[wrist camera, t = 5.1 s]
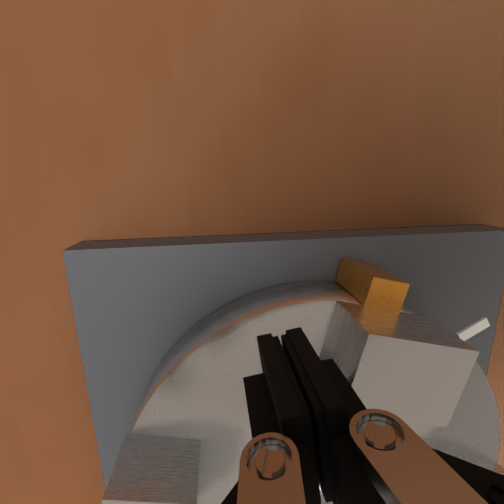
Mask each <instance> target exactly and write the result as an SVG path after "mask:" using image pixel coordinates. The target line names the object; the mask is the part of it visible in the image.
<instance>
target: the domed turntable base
mask: <svg viewBox="0 0 504 504" xmlns="http://www.w3.org/2000/svg"><path fill="white" fill-rule="evenodd" d="M409 286H410V284H409V283H407V282H405V281H404V280H402V279H400V278H398V277H396V276H394V275H393V274H391V273H389V272H387V271H385V270H384V269H382V268H380V267H378V266H376V265H374V264H373V263H369V262H364V261H359V260H354V259H349V258H344V257H342V260H341V263H340V266H339V270H338V273H337V276H336V281H328V280H323V281H299V282H292V283H285V284H279V285H275V286H272V287H268V288H264V289H260V290H257V291H254V292H252V293H249V294H247V295H244V296H242V297H239V298H237V299H234V300H233V301H231V302H229V303H227V304H225V305H224V306H222V307H220V308H218V309H216V310H215V311H213V312H211V313H210V314H209V315H207V316H206V317H205V318H203V319H202V320H200V321H199V322H198V323H196V324H195V325H194V326H193V327H191V328H190V329H189V330H188V331H187V332H186V333H185V334H184V335H183V336H182V337H181V338H180V339H179V340H178V341H177V342H176V343H175V344H174V345H173V347H172V348H171V349H170V350H169V352H168V353H167V354H166V355H165V356H164V358H163V359H162V360H161V362H160V364H159V365H158V367H157V369H156V370H155V372H154V374H153V375H152V377H151V379H150V381H149V384H148V386H147V388H146V391H145V393H144V395H143V398H142V401H141V404H140V407H139V410H138V413H137V416H136V419H135V422H134V425H133V428H132V431H131V433H126V434H125V437H124V440H123V443H122V445H121V448H120V451H119V454H118V457H117V459H116V462H115V465H114V468H113V471H112V474H111V476H110V479H109V482H108V485H107V488H106V491H105V493H104V496H103V499H102V504H221V503H222V502H223V500H224V499H225V498H226V496H227V495H228V494H229V492H230V491H231V490H232V488H233V487H234V486H235V484H236V483H237V482H238V480H239V465H240V457H241V453H242V451H243V449H244V447H245V446H246V444H247V443H248V442H249V441H250V440H251V439H252V434H251V428H250V421H249V414H248V408H247V401H246V394H245V388H244V381H243V377H247V376H252V375H256V374H261V373H263V372H262V366H261V360H260V354H259V348H258V343H257V336H259V335H264V334H269V333H271V334H272V336H273V337H274V336H278V338H279V340H280V342H281V345H282V341H281V335H284V334H286V330H289V329H293V328H298V327H301V328H302V330H303V332H304V333H305V335H306V337H307V338H308V340H309V342H310V343H311V345H312V347H313V348H314V350H315V352H316V353H317V355H318V357H319V358H320V360H326V359H330V358H331V359H333V360H334V361H335V363H336V364H337V366H338V367H339V369H340V370H341V372H342V373H343V375H344V376H345V377H346V379H347V380H348V382H349V383H350V385H351V386H352V388H353V389H354V391H355V392H356V394H357V395H358V397H359V398H360V400H361V401H362V403H363V404H364V406H365V407H366V408H367V409H381V410H385V411H388V412H390V413H393V414H395V415H397V416H398V417H399V418H400V419H402V420H403V421H404V422H405V423H406V424H407V425H408V426H409V427H410V428H411V429H412V430H413V431H414V432H415V433H416V434H417V435H418V436H419V437H421V438H422V439H423V440H424V441H425V442H426V443H427V444H428V445H429V446H430V447H431V448H433V449H436V450H439V451H441V452H444V453H446V454H449V455H452V456H454V457H457V458H460V459H462V460H465V461H467V462H470V463H473V464H475V465H478V466H480V467H483V468H486V469H488V470H491V471H494V472H496V473H499V474H501V475H504V468H503V467H502V466H501V465H497V462H498V458H499V450H500V443H501V425H500V416H499V411H498V405H497V401H496V398H495V395H494V393H493V390H492V387H491V384H490V382H489V381H488V379H487V377H486V375H485V374H484V372H483V370H482V368H481V367H480V365H479V364H478V363H477V362H476V359H477V357H478V355H479V351H478V350H476V349H475V348H473V347H472V346H470V345H469V344H467V343H466V342H464V341H463V340H461V339H460V338H458V337H457V336H455V335H454V334H452V333H451V332H449V331H448V330H446V329H445V328H443V327H442V326H440V325H439V324H437V323H436V322H434V321H433V320H431V319H430V318H428V317H427V316H422V315H418V314H417V313H415V312H414V311H412V310H411V309H410V308H408V307H407V306H405V305H403V303H404V300H405V297H406V294H407V291H408V289H409ZM319 488H320V485H319ZM320 495H321V504H333V502H328V503H326V501H325V499H324V497H323V494H322V491H321V488H320Z"/></svg>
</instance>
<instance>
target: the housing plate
mask: <svg viewBox="0 0 504 504" xmlns="http://www.w3.org/2000/svg"><path fill="white" fill-rule="evenodd" d="M62 251H63V257H64V262H65V268H66V273H67V279H68V284H69V290H70V295H71V301H72V307H73V312H74V318H75V323H76V329H77V334H78V340H79V345H80V351H81V356H82V362H83V368H84V373H85V379H86V384H87V390H88V395H89V401H90V406H91V412H92V417H93V423H94V429H95V434H96V440H97V445H98V451H99V456H100V462H101V467H102V473H103V478H104V484H105V490H106V488H107V485H108V482H109V479H110V476H111V474H112V471H113V468H114V465H115V462H116V459H117V457H118V454H119V451H120V448H121V445H122V443H123V440H124V437H125V434H126V433H131V431H132V428H133V425H134V422H135V419H136V416H137V413H138V410H139V407H140V404H141V401H142V398H143V395H144V393H145V391H146V388H147V386H148V384H149V381H150V379H151V377H152V375H153V374H154V372H155V370H156V369H157V367H158V365H159V364H160V362H161V360H162V359H163V358H164V356H165V355H166V354H167V353H168V352H169V350H170V349H171V348H172V347H173V345H174V344H175V343H176V342H177V341H178V340H179V339H180V338H181V337H182V336H183V335H184V334H185V333H186V332H187V331H188V330H189V329H190V328H191V327H193V326H194V325H195V324H196V323H198V322H199V321H200V320H202V319H203V318H205V317H206V316H207V315H209V314H210V313H211V312H213V311H215V310H216V309H218V308H220V307H222V306H224V305H225V304H227V303H229V302H231V301H233V300H234V299H237V298H239V297H242V296H244V295H247V294H249V293H252V292H254V291H257V290H260V289H264V288H268V287H272V286H275V285H279V284H285V283H292V282H299V281H323V280H328V281H336V276H337V273H338V270H339V266H340V263H341V260H342V257H344V258H349V259H354V260H359V261H364V262H369V263H373V264H374V265H376V266H378V267H380V268H382V269H384V270H385V271H387V272H389V273H391V274H393V275H394V276H396V277H398V278H400V279H402V280H404V281H405V282H407V283H409V284H410V286H409V289H408V291H407V294H406V297H405V300H404V303H403V305H405V306H407V307H408V308H410V309H411V310H412V311H414V312H415V313H417V314H418V315H422V316H427V317H428V318H430V319H431V320H433V321H434V322H436V323H437V324H439V325H440V326H442V327H443V328H445V329H446V330H448V331H449V332H451V333H452V334H454V335H455V336H457V337H458V338H460V339H461V340H463V341H464V342H466V343H467V344H469V345H470V346H472V347H473V348H475V349H476V350H478V351H479V355H478V357H477V359H476V362H477V363H478V364H479V365H480V367H481V368H482V370H483V372H484V374H485V375H487V370H488V365H489V360H490V355H491V350H492V344H493V339H494V334H495V329H496V324H497V319H498V314H499V308H500V303H501V298H502V293H503V288H504V228H500V227H495V226H489V225H483V224H475V225H451V226H427V227H404V228H380V229H357V230H333V231H310V232H286V233H262V234H239V235H215V236H192V237H168V238H145V239H121V240H97V241H81V242H79V243H77V244H75V245H73V246H71V247H69V248H67V249H65V250H62Z"/></svg>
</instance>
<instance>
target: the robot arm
mask: <svg viewBox="0 0 504 504" xmlns="http://www.w3.org/2000/svg"><path fill="white" fill-rule="evenodd" d="M281 341H282V345H281V342H280V340H279V338H278V336H274V337H273V336H272V334H271V333H269V334H264V335H259V336H257V343H258V348H259V354H260V360H261V366H262V372H263V373H261V374H256V375H252V376H247V377H243V381H244V388H245V394H246V401H247V408H248V414H249V421H250V428H251V434H252V439H251V440H250V441H249V442H248V443H247V444H246V446H245V447H244V449H243V451H242V453H241V457H240V465H239V480H238V482H237V483H236V484H235V486H234V487H233V488H232V490H231V491H230V492H229V494H228V495H227V496H226V498H225V499H224V500H223V502H222V503H221V504H321V495H320V488H321V491H322V494H323V497H324V499H325V501H326V503H328V502H333V504H504V475H501V474H499V473H496V472H494V471H491V470H488V469H486V468H483V467H480V466H478V465H475V464H473V463H470V462H467V461H465V460H462V459H460V458H457V457H454V456H452V455H449V454H446V453H444V452H441V451H439V450H436V449H433V448H431V447H430V446H429V445H428V444H427V443H426V442H425V441H424V440H423V439H422V438H421V437H419V436H418V435H417V434H416V433H415V432H414V431H413V430H412V429H411V428H410V427H409V426H408V425H407V424H406V423H405V422H404V421H403V420H402V419H400V418H399V417H398V416H397V415H395V414H393V413H390V412H388V411H385V410H381V409H367V408H366V407H365V406H364V404H363V403H362V401H361V400H360V398H359V397H358V395H357V394H356V392H355V391H354V389H353V388H352V386H351V385H350V383H349V382H348V380H347V379H346V377H345V376H344V375H343V373H342V372H341V370H340V369H339V367H338V366H337V364H336V363H335V361H334V360H333V359H331V358H330V359H326V360H320V358H319V357H318V355H317V353H316V352H315V350H314V348H313V347H312V345H311V343H310V342H309V340H308V338H307V337H306V335H305V333H304V332H303V330H302V328H301V327H298V328H293V329H289V330H286V334H284V335H281ZM319 485H320V488H319Z"/></svg>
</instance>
